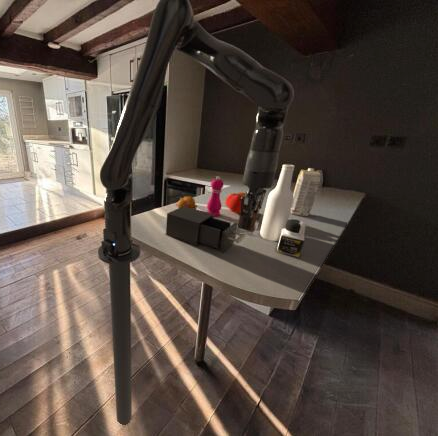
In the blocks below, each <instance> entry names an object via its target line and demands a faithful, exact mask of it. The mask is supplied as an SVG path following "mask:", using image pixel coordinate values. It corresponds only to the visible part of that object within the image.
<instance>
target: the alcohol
mask: <svg viewBox="0 0 438 436" xmlns="http://www.w3.org/2000/svg"><path fill="white" fill-rule="evenodd" d="M281 167H282V168H281V171H280V174H279V178H278V181H277V183H276V186H275V188H273V189H272V190H271V191H270V192H269V194H268V196H267V200H266V205H265V207H264V208H265V209H264V212H263V217H262V223H261V225H260V226H261V227H260V231H259V235H260V237H261V238H263V239H264V240H267V241H271V242H279V240H280V236H281V232H282V229H283V228H284V229H285V225H286V222H287V220H289V217H290V214H291V207H292V203H293V192H292V190H291V189H292V188H291V186H292V180H293V175H294V171H295V168H296V167H295V165H294V164H286V163H285V164H282V166H281Z"/></svg>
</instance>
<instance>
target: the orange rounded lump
mask: <svg viewBox="0 0 438 436" xmlns="http://www.w3.org/2000/svg"><path fill="white" fill-rule="evenodd" d="M183 206H185V207H189V208H193V209H196V210H198V207H199V206H198V205H197V204H196V200H195V198H194V197H192V196H189V195H187V196H185V195H184V196H182V197H181V198H180V199H179V200H178V202H177V204H176V207H177V209H178V208H180V207H183Z"/></svg>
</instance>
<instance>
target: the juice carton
mask: <svg viewBox="0 0 438 436" xmlns="http://www.w3.org/2000/svg"><path fill="white" fill-rule="evenodd" d="M321 179H322V173H321V172H320V171H319V170H315V168H311V167H308V168H307V169H301V170H300V171H299V174H298V176H297V179H296V183H295V187H294V190H293V192H292V194H293V203H292V207H291V211H290V214H291V215H296V216H301V217H309V214H310V213H311V212H312V208H313V206H314V203H315V199H316V195H317V193H318V189H319V186H320V183H321Z"/></svg>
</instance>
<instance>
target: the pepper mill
mask: <svg viewBox="0 0 438 436" xmlns="http://www.w3.org/2000/svg"><path fill="white" fill-rule="evenodd" d="M210 187H211V189H210V192H211V196H210V198H209V200H208V201H207V204H206V209H207V211H206V212H208V213H211V214H214V217H219V216H220V214H221V213H220V210H222V201H221V198H220V196H221V193H222V189H223V187H224V181H223V180H222V179H221V177H220V176H219V175H218V176H216V177H215V179H213V180H211V182H210Z"/></svg>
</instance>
